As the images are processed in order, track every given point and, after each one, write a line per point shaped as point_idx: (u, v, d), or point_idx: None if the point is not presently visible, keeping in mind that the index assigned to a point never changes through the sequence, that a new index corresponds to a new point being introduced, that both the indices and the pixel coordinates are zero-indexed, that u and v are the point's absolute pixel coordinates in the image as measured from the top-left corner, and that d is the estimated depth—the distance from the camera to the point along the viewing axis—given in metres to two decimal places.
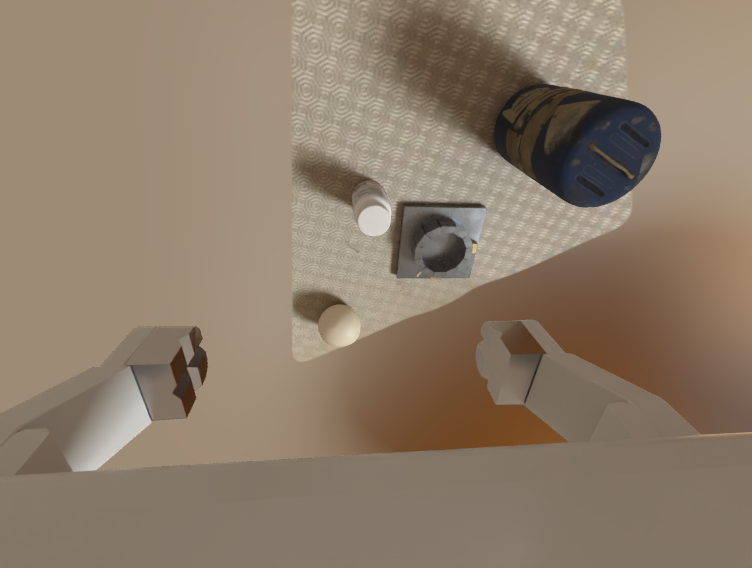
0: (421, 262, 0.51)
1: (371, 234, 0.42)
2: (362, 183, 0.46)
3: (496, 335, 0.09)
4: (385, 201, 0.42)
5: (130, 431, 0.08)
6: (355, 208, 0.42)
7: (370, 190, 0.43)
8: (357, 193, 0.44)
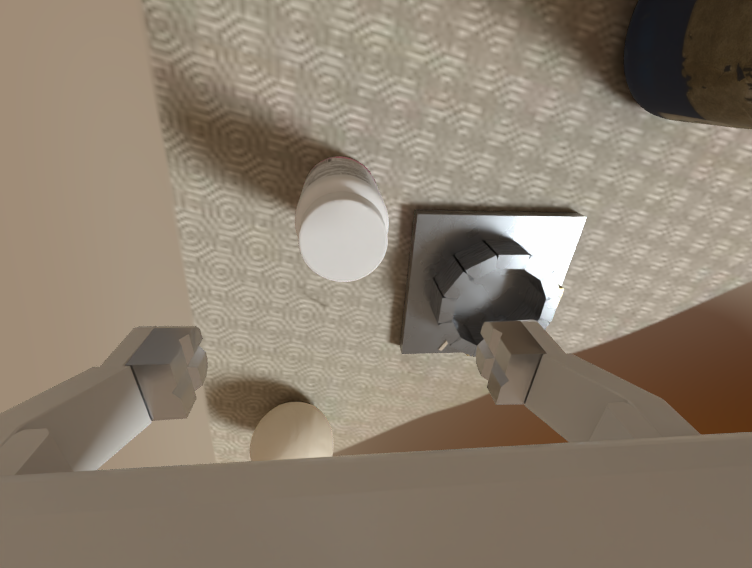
0: (452, 328, 0.25)
1: (337, 277, 0.16)
2: (323, 161, 0.20)
3: (496, 335, 0.09)
4: (373, 193, 0.16)
5: (130, 431, 0.08)
6: (297, 211, 0.17)
7: (337, 169, 0.18)
8: (308, 179, 0.19)
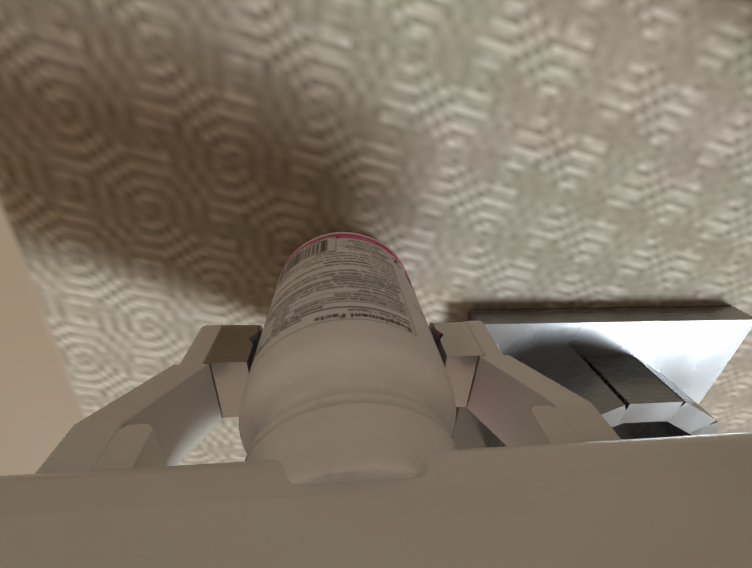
0: None
1: None
2: (313, 245, 0.11)
3: (438, 336, 0.09)
4: (428, 369, 0.07)
5: (205, 427, 0.08)
6: (242, 411, 0.07)
7: (338, 289, 0.08)
8: (279, 299, 0.09)
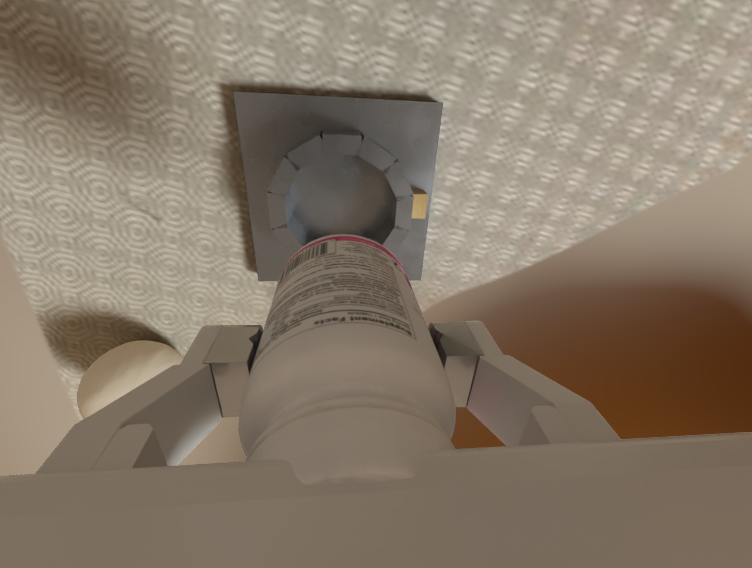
0: (291, 236, 0.21)
1: None
2: (313, 247, 0.11)
3: (438, 336, 0.09)
4: (427, 373, 0.07)
5: (206, 427, 0.08)
6: (242, 415, 0.07)
7: (338, 292, 0.08)
8: (278, 301, 0.09)
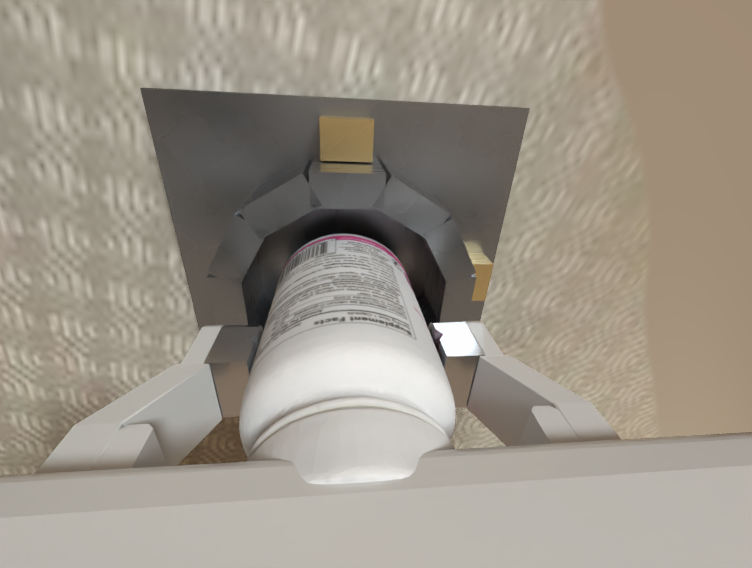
0: None
1: None
2: (312, 247, 0.11)
3: (438, 336, 0.09)
4: (427, 373, 0.07)
5: (205, 427, 0.08)
6: (242, 415, 0.07)
7: (338, 292, 0.08)
8: (278, 301, 0.09)
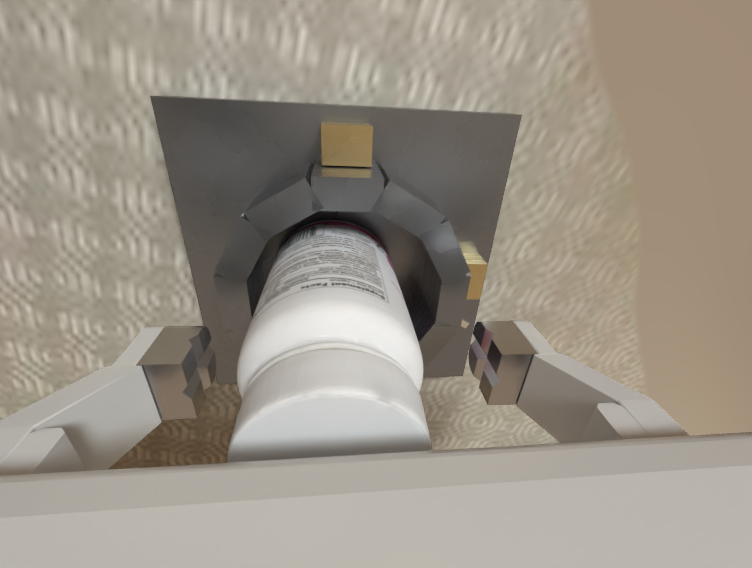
0: None
1: None
2: (303, 231, 0.12)
3: (488, 335, 0.09)
4: (396, 328, 0.08)
5: (141, 430, 0.08)
6: (240, 365, 0.08)
7: (322, 264, 0.09)
8: (272, 276, 0.10)
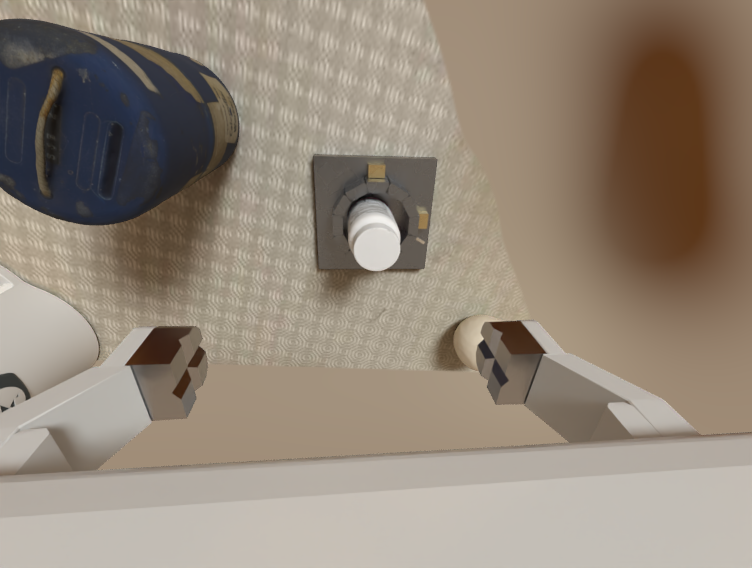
0: None
1: (373, 268, 0.30)
2: (360, 200, 0.34)
3: (496, 335, 0.09)
4: (392, 222, 0.30)
5: (130, 431, 0.08)
6: (350, 233, 0.30)
7: (370, 208, 0.31)
8: (353, 213, 0.32)
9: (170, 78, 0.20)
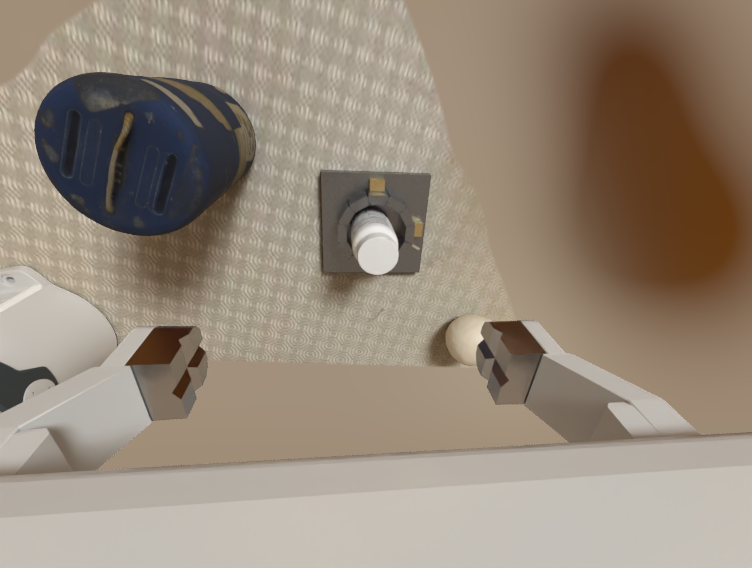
0: None
1: (374, 272, 0.34)
2: (362, 211, 0.38)
3: (496, 335, 0.09)
4: (391, 232, 0.34)
5: (130, 431, 0.08)
6: (354, 241, 0.34)
7: (372, 218, 0.35)
8: (356, 223, 0.36)
9: (208, 112, 0.24)
